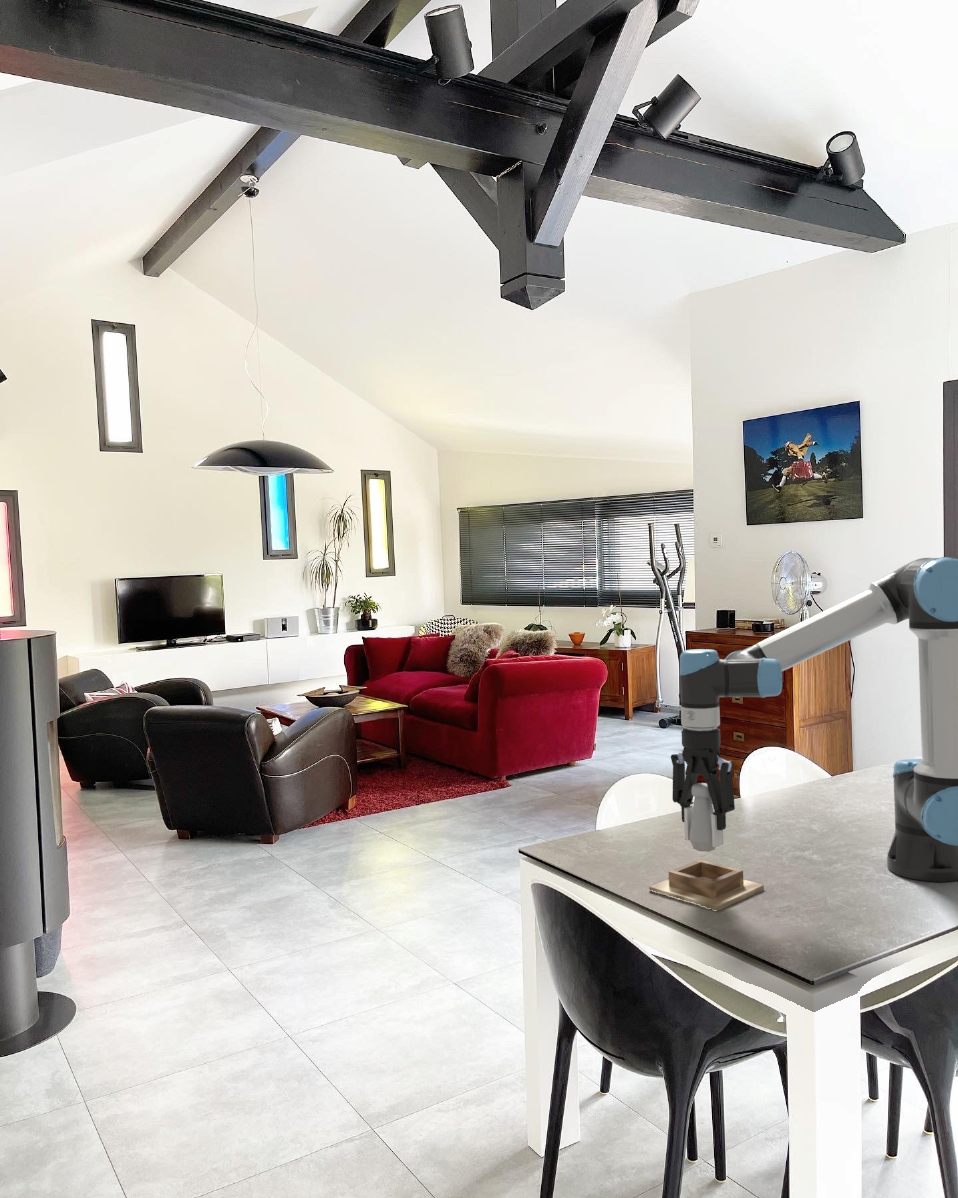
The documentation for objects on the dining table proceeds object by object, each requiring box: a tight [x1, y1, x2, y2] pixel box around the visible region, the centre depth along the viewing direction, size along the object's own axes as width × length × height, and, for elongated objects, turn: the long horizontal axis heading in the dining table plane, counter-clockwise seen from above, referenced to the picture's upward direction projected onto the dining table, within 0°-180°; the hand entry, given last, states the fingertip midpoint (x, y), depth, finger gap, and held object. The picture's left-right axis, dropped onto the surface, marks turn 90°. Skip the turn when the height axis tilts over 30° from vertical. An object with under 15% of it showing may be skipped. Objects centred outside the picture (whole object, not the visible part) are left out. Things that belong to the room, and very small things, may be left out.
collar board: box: [648, 859, 765, 911], centre depth 186 cm, size 16×16×4 cm
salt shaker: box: [689, 782, 717, 853], centre depth 186 cm, size 6×6×13 cm
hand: (704, 841), depth 186 cm, fingers closed on salt shaker, 6 cm apart
